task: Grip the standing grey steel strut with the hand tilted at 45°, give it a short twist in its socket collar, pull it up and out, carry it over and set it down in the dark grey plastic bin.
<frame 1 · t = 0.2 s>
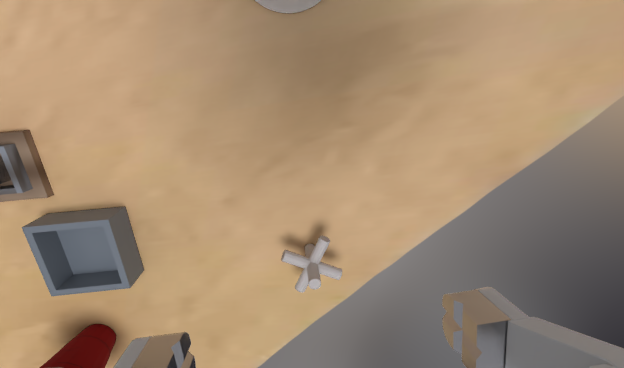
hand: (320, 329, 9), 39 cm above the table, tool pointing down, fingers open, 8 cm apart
bin: (97, 243, 49), on the table
socket plate: (7, 166, 44), on the table
pipe connector: (309, 247, 53), on the table
plastic cup: (101, 334, 55), on the table
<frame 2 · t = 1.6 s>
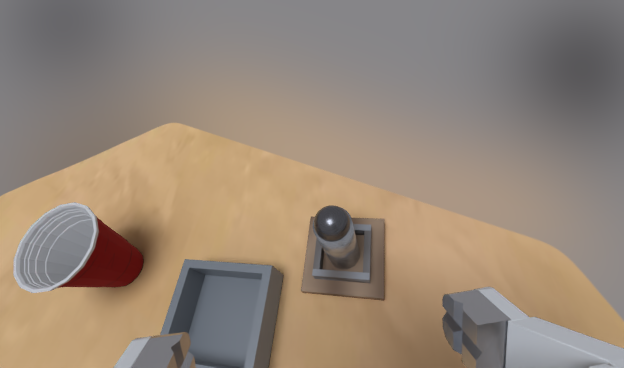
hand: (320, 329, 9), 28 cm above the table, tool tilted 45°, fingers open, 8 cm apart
strut: (343, 253, 38), point 1 cm above the table, touching socket plate
bin: (231, 318, 38), on the table
socket plate: (345, 256, 39), on the table
plastic cup: (127, 269, 45), on the table
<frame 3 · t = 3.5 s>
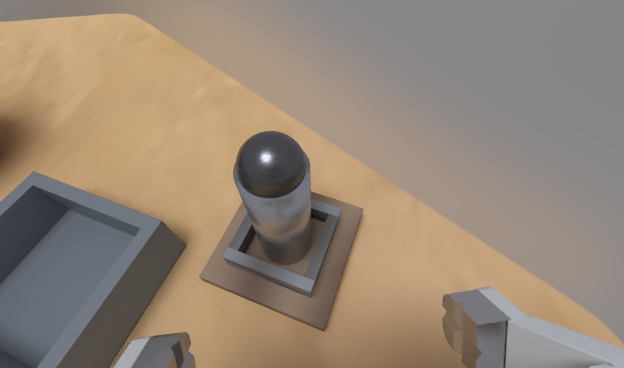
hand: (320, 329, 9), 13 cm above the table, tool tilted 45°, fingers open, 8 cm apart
strut: (286, 240, 24), point 1 cm above the table, touching socket plate
bin: (76, 287, 23), on the table
socket plate: (287, 246, 25), on the table
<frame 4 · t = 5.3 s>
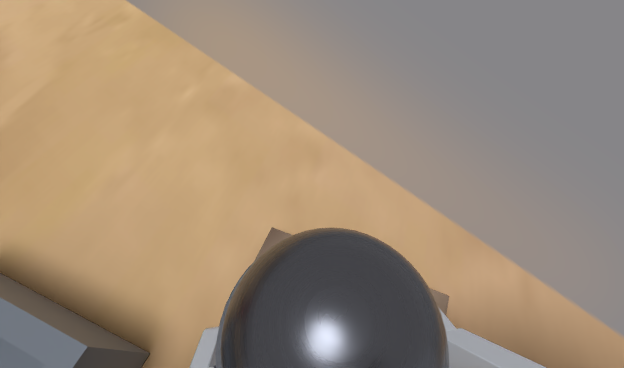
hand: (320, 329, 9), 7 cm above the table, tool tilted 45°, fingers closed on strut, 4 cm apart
strut: (321, 358, 14), point 1 cm above the table, touching gripper, socket plate
socket plate: (320, 359, 15), on the table
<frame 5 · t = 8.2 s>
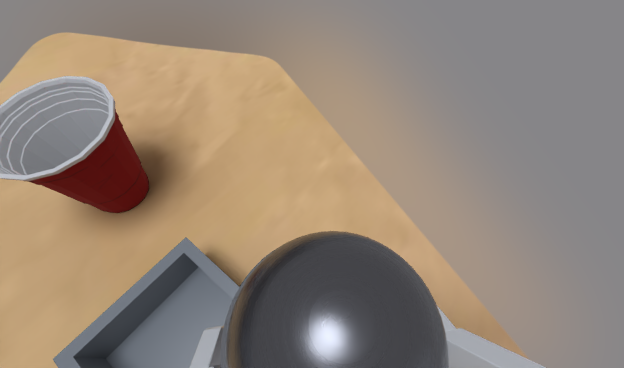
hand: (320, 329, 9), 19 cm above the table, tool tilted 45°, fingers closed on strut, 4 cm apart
strut: (321, 358, 14), point 14 cm above the table, touching gripper
bin: (194, 349, 26), on the table
plastic cup: (123, 193, 35), on the table
when the fingers open (8 cm above the table, at t = 11.3 s): strut drops 2 cm, resting on bin.
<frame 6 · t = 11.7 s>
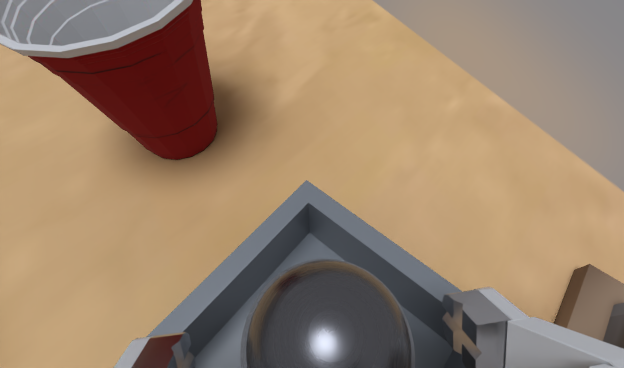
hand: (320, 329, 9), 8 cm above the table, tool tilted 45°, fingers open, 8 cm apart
strut: (319, 359, 15), point 1 cm above the table, touching bin
bin: (319, 360, 16), on the table
plastic cup: (182, 136, 25), on the table
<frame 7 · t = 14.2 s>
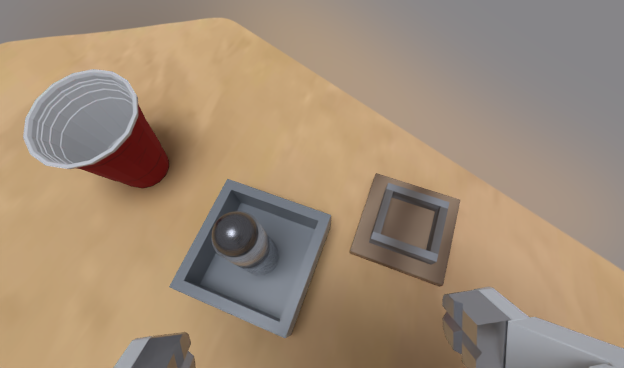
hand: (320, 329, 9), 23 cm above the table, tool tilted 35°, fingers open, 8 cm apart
strut: (260, 256, 33), point 1 cm above the table, touching bin
bin: (262, 258, 34), on the table
socket plate: (404, 227, 34), on the table
plastic cup: (148, 170, 39), on the table
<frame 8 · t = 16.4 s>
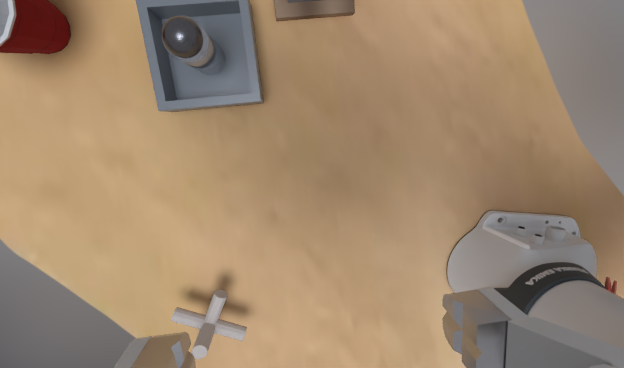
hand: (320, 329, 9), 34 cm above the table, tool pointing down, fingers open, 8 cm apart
strut: (209, 58, 38), point 1 cm above the table, touching bin
bin: (211, 60, 39), on the table
pipe connector: (218, 301, 46), on the table
plastic cup: (48, 30, 37), on the table
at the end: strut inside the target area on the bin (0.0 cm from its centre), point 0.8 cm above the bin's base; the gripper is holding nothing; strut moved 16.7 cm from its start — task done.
